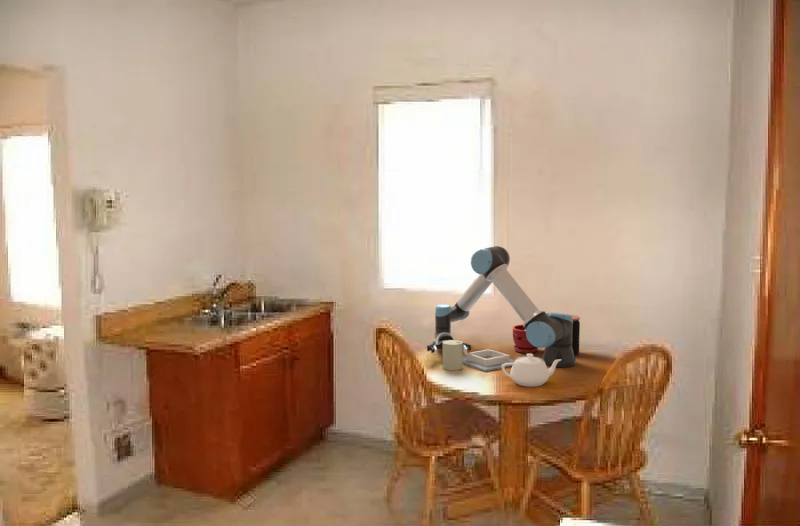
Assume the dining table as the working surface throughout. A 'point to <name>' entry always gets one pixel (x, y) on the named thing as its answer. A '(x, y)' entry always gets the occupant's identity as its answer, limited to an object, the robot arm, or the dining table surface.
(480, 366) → the tray
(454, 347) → the can
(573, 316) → the coffee jar
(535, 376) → the teapot
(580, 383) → the dining table surface
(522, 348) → the plant pot
